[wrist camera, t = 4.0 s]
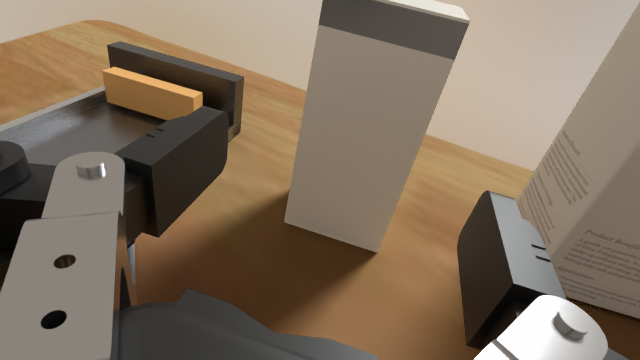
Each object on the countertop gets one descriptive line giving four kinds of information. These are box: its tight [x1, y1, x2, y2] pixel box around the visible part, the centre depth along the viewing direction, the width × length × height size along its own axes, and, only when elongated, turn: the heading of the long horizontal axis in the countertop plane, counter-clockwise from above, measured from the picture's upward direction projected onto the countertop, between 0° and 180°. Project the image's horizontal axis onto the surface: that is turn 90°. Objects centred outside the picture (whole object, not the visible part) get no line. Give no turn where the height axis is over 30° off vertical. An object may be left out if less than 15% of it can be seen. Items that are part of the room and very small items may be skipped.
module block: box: [284, 0, 470, 253], centre depth 17 cm, size 5×4×11 cm
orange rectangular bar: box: [102, 67, 203, 120], centre depth 22 cm, size 6×1×2 cm, turn 75°
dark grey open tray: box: [0, 42, 244, 166], centre depth 18 cm, size 9×15×4 cm, turn 165°
